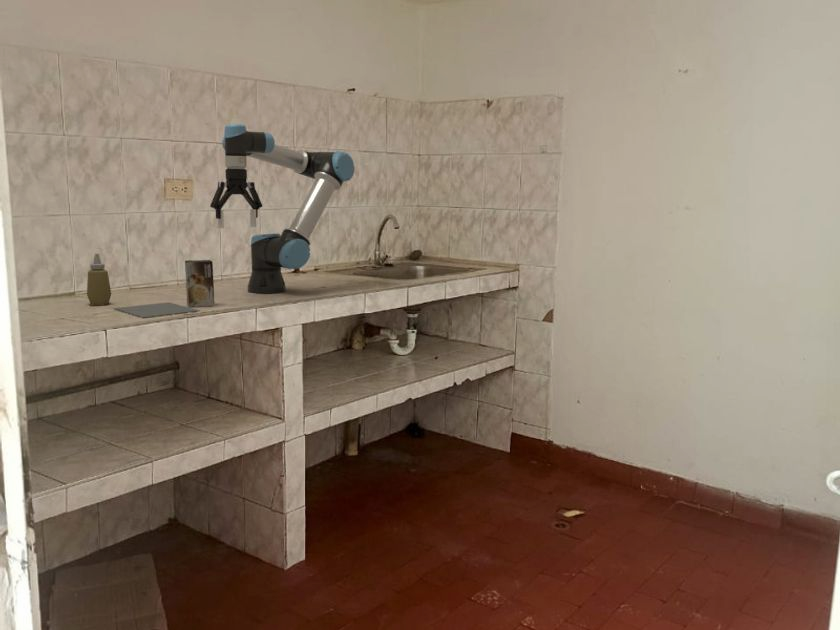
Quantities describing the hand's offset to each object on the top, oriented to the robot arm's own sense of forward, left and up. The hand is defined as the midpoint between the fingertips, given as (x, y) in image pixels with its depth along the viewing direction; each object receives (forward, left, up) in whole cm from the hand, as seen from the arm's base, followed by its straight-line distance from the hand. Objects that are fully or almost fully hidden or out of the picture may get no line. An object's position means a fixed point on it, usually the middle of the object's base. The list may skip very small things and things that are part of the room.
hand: (237, 227), depth 272 cm
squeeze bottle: (+42, -24, -28) cm, 56 cm away
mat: (+32, 0, -27) cm, 42 cm away
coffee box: (+16, 0, -28) cm, 32 cm away
